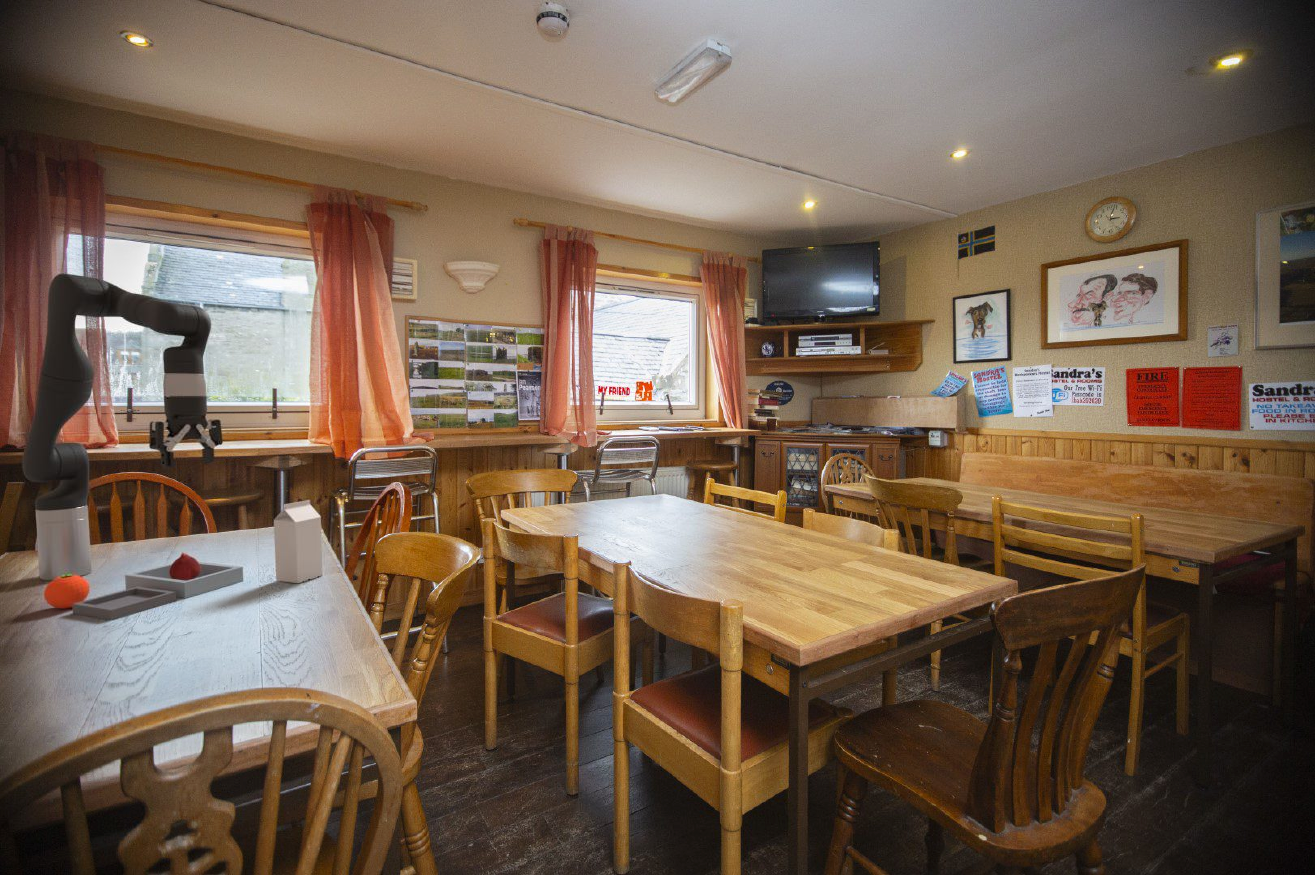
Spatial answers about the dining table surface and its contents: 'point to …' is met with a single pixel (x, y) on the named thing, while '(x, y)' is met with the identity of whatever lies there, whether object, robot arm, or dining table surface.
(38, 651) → the dining table surface
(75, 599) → the clementine
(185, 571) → the onion
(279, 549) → the milk carton
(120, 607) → the tray
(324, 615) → the dining table surface
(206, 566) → the shallow gray box
